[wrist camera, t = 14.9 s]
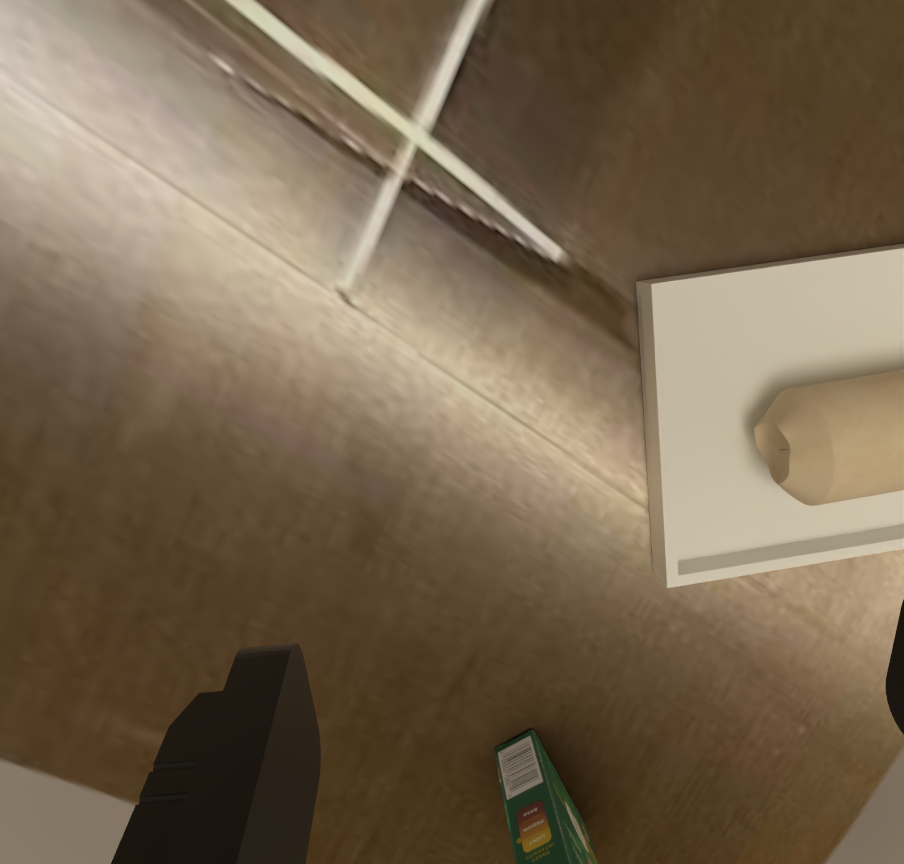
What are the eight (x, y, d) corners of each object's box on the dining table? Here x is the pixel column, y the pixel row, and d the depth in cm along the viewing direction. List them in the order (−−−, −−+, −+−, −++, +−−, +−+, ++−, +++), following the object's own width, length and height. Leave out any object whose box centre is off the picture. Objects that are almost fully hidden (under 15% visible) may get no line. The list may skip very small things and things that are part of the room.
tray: (636, 281, 34) (651, 283, 32) (1018, 227, 35) (1056, 226, 33) (652, 570, 38) (667, 588, 36) (994, 514, 39) (1026, 528, 37)
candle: (914, 413, 37) (730, 445, 37) (964, 335, 33) (758, 369, 33) (981, 498, 34) (778, 534, 33) (1047, 422, 29) (816, 461, 29)
